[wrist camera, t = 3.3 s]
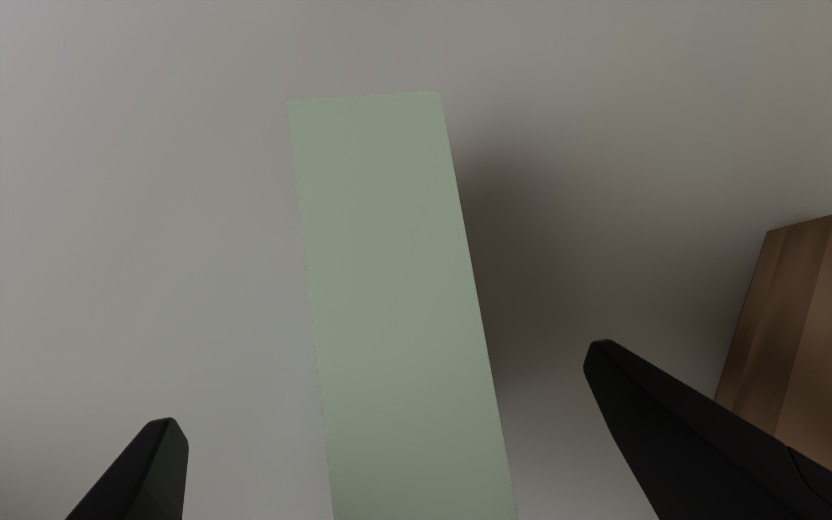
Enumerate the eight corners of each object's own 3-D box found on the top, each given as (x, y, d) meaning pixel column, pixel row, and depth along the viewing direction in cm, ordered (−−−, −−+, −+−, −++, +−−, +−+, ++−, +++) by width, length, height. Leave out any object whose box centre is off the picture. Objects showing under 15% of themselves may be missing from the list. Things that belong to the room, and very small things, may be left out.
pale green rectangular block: (428, 439, 17) (530, 584, 7) (354, 454, 16) (348, 634, 6) (395, 224, 18) (439, 90, 8) (325, 232, 18) (286, 100, 8)
